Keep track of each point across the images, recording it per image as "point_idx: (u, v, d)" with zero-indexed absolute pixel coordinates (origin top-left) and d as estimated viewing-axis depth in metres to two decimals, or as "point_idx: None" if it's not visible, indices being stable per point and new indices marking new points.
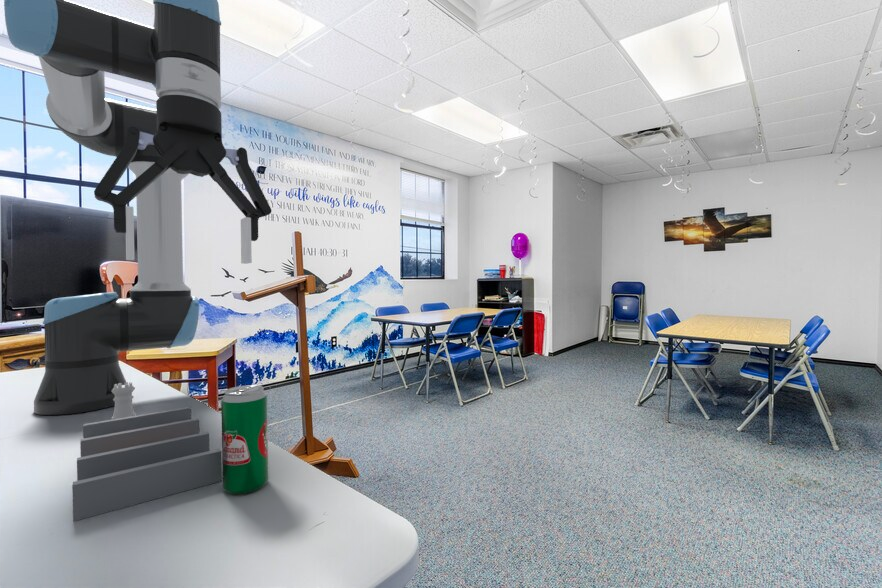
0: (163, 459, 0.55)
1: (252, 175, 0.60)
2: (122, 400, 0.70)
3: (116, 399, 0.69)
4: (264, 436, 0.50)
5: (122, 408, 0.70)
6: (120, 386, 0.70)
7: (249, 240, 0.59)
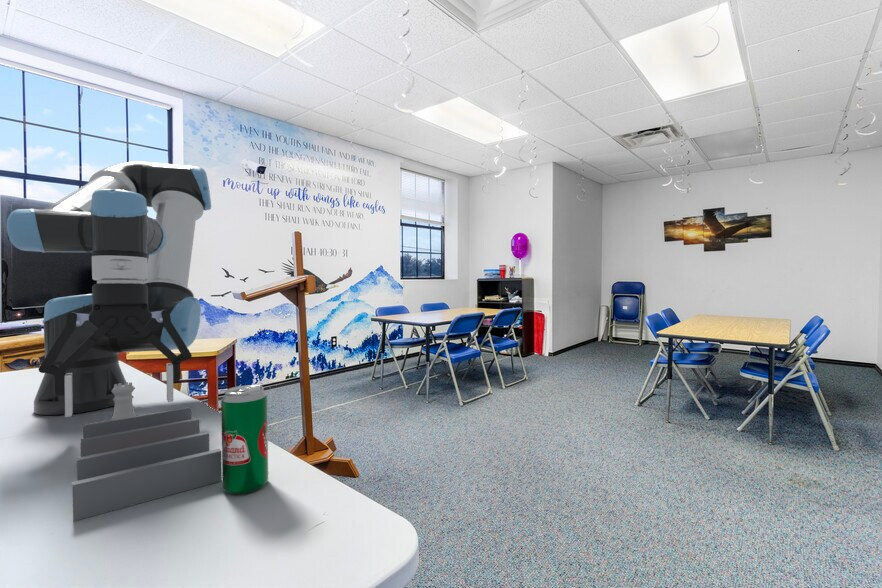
0: (163, 459, 0.55)
1: (174, 330, 0.74)
2: (122, 400, 0.70)
3: (116, 399, 0.69)
4: (264, 436, 0.50)
5: (122, 408, 0.70)
6: (120, 386, 0.70)
7: (171, 383, 0.74)
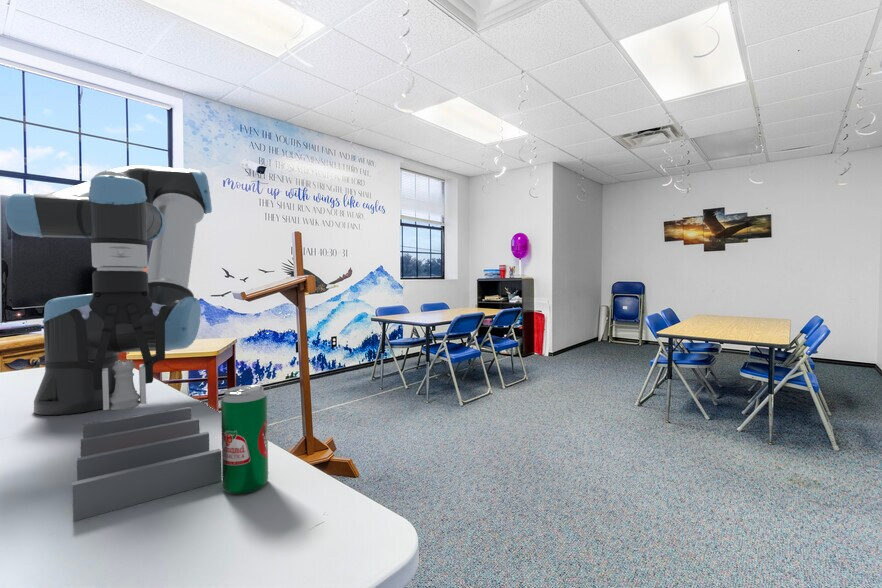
0: (163, 459, 0.55)
1: (163, 328, 0.73)
2: (123, 377, 0.70)
3: (117, 376, 0.70)
4: (264, 436, 0.50)
5: (123, 385, 0.70)
6: (121, 363, 0.70)
7: (144, 385, 0.72)
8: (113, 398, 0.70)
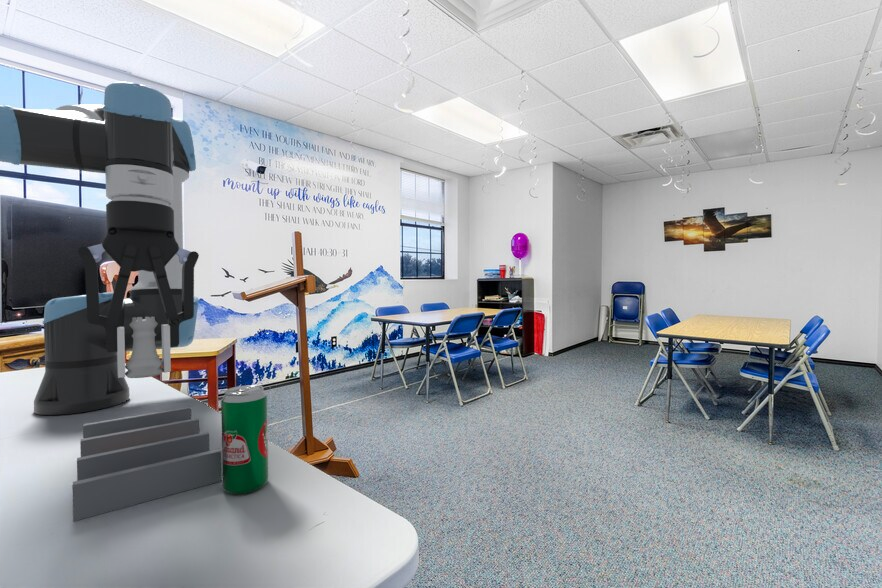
0: (163, 459, 0.55)
1: (192, 279, 0.59)
2: (143, 336, 0.56)
3: (135, 335, 0.56)
4: (264, 436, 0.50)
5: (143, 346, 0.56)
6: (140, 319, 0.56)
7: (168, 349, 0.58)
8: (130, 362, 0.55)
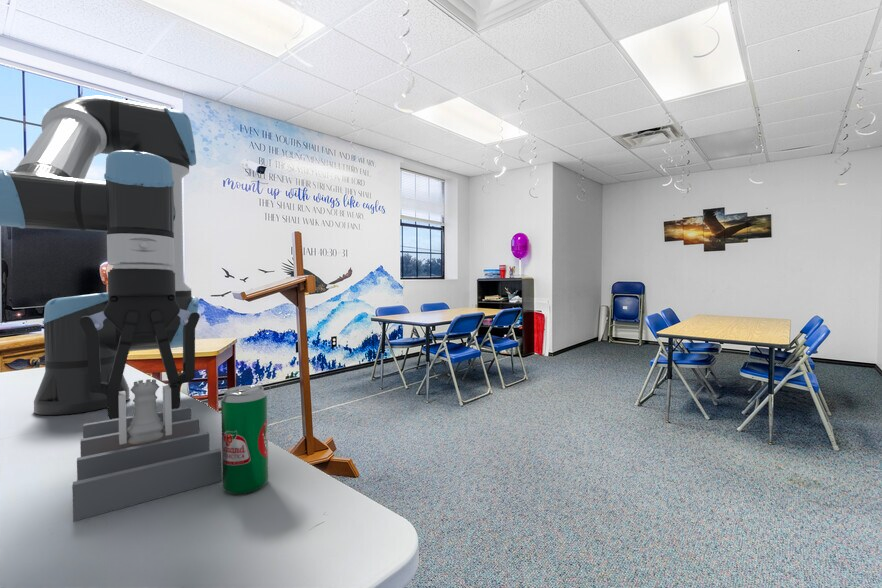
0: (163, 459, 0.55)
1: (193, 340, 0.60)
2: (144, 401, 0.56)
3: (137, 400, 0.56)
4: (264, 436, 0.50)
5: (144, 411, 0.56)
6: (142, 384, 0.56)
7: (169, 412, 0.58)
8: (132, 428, 0.55)
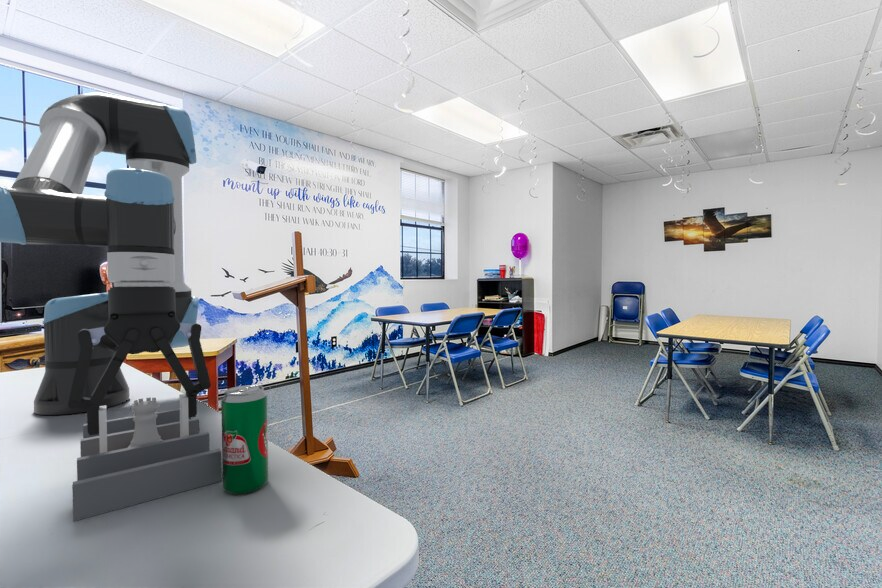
0: (163, 459, 0.55)
1: (200, 351, 0.60)
2: (144, 420, 0.56)
3: (137, 419, 0.56)
4: (264, 436, 0.50)
5: (144, 430, 0.56)
6: (142, 403, 0.56)
7: (186, 420, 0.59)
8: None
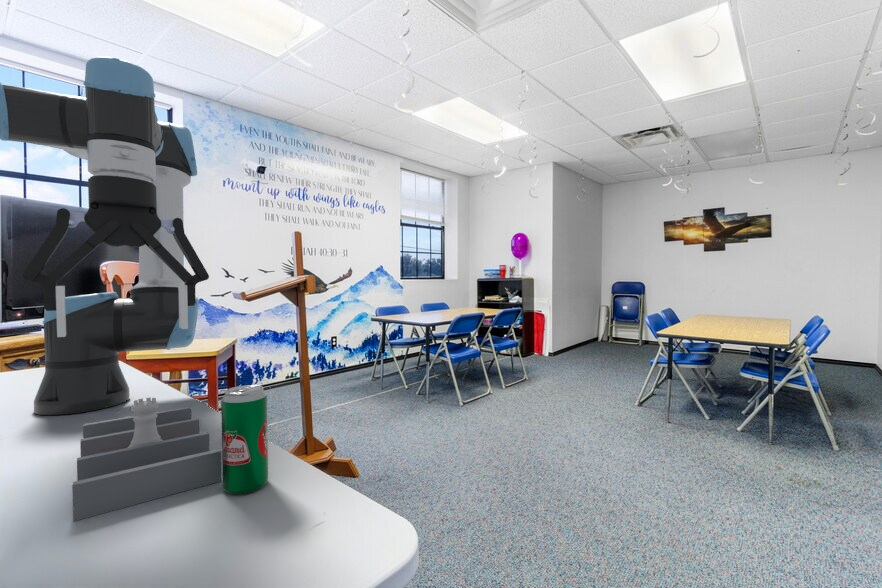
0: (163, 459, 0.55)
1: (188, 244, 0.62)
2: (144, 420, 0.56)
3: (137, 419, 0.56)
4: (264, 436, 0.50)
5: (144, 430, 0.56)
6: (141, 403, 0.56)
7: (185, 307, 0.61)
8: None
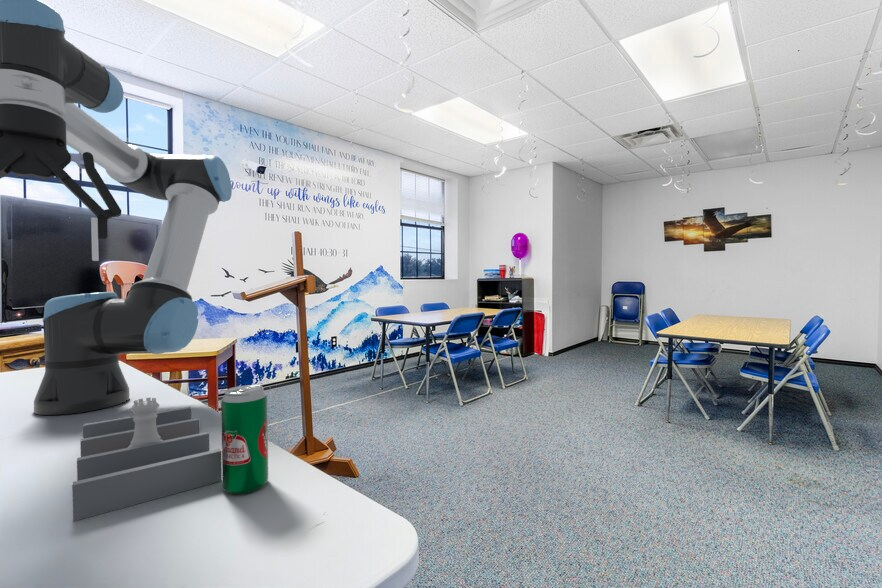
0: (163, 459, 0.55)
1: (99, 178, 0.64)
2: (144, 420, 0.56)
3: (137, 419, 0.56)
4: (264, 436, 0.50)
5: (144, 430, 0.56)
6: (141, 403, 0.56)
7: (95, 239, 0.63)
8: None
